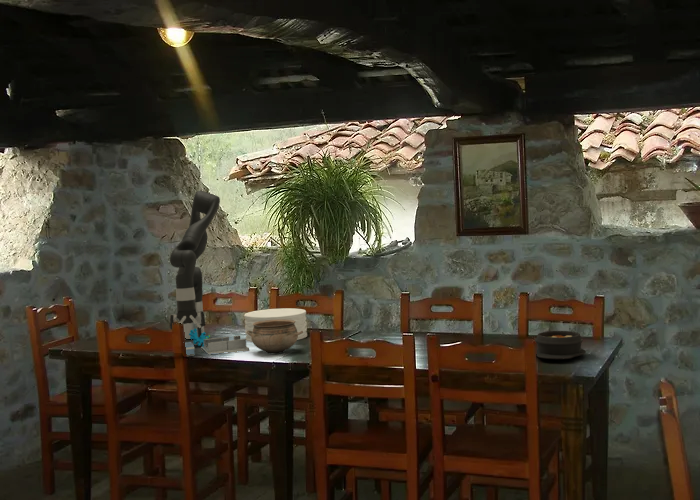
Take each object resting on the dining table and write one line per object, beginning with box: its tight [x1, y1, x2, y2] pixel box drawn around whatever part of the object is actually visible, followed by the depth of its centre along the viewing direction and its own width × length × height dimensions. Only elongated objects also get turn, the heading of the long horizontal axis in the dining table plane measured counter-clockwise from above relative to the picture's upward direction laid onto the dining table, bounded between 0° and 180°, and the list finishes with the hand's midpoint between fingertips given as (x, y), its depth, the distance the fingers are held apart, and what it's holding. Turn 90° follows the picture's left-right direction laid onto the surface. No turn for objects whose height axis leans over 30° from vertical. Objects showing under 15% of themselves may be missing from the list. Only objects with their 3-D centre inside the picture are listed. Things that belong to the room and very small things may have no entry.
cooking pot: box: [246, 319, 303, 355], centre depth 315 cm, size 25×19×12 cm
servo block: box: [184, 341, 196, 355], centre depth 318 cm, size 11×4×5 cm, turn 21°
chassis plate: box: [200, 335, 250, 355], centre depth 325 cm, size 16×17×5 cm
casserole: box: [534, 330, 587, 361], centre depth 280 cm, size 25×19×8 cm
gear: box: [189, 329, 211, 347], centre depth 340 cm, size 11×6×10 cm
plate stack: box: [244, 307, 308, 343], centre depth 352 cm, size 28×28×12 cm
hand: (188, 338), depth 316 cm, fingers open, 8 cm apart
